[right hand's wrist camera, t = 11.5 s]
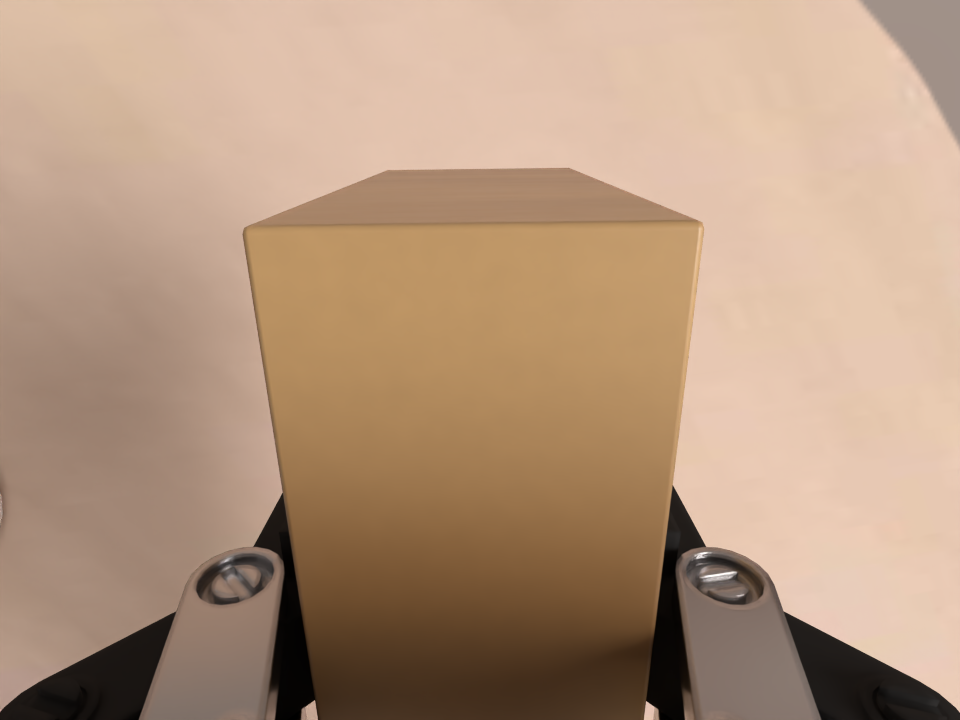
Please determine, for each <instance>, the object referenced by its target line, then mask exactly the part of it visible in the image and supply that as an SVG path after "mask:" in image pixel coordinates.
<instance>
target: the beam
mask: <svg viewBox="0 0 960 720" xmlns="http://www.w3.org/2000/svg"><path fill="white" fill-rule="evenodd" d="M703 234H704V227H703V223H702V222H700V221H698V220H695V219H693V218H690V217H688V216H686V215H683V214H681V213H678V212H676V211H673V210H671V209H668V208H666V207H663V206H661V205H658V204H656V203H654V202H651V201H649V200H646V199H644V198H641V197H639V196H636V195H634V194H631V193H629V192H627V191H624V190H622V189H619V188H617V187H614V186H612V185H609V184H607V183H604V182H602V181H600V180H597V179H595V178H592V177H590V176H587V175H585V174H582V173H580V172H577V171H575V170H572V169H570V168H529V169H449V170H387V171H385V172H382V173H380V174H377V175H375V176H372V177H370V178H367V179H365V180H362V181H360V182H357V183H355V184H352V185H350V186H347V187H345V188H342V189H340V190H337V191H335V192H332V193H330V194H327V195H325V196H322V197H319V198H317V199H314V200H312V201H309V202H307V203H304V204H302V205H299V206H297V207H294V208H292V209H289V210H287V211H284V212H282V213H279V214H277V215H274V216H272V217H269V218H267V219H264V220H262V221H259V222H257V223H254V224H252V225H249V226H247V227H245V228H244V231H243V240H244V246H245V252H246V259H247V265H248V272H249V278H250V285H251V291H252V297H253V304H254V310H255V317H256V323H257V330H258V336H259V342H260V349H261V355H262V362H263V368H264V375H265V381H266V387H267V394H268V400H269V407H270V413H271V420H272V426H273V432H274V439H275V445H276V452H277V458H278V465H279V471H280V477H281V484H282V490H283V497H284V503H285V510H286V516H287V522H288V529H289V535H290V542H291V548H292V555H293V561H294V567H295V574H296V580H297V587H298V593H299V600H300V606H301V612H302V619H303V625H304V632H305V638H306V644H307V651H308V657H309V664H310V670H311V677H312V683H313V689H314V696H315V702H316V709H317V715H318V720H644V713H645V705H646V696H647V688H648V680H649V672H650V664H651V656H652V648H653V640H654V631H655V623H656V615H657V607H658V599H659V591H660V583H661V575H662V567H663V558H664V550H665V542H666V534H667V526H668V518H669V510H670V502H671V494H672V485H673V477H674V469H675V461H676V453H677V445H678V437H679V429H680V421H681V412H682V404H683V396H684V388H685V380H686V372H687V364H688V356H689V348H690V339H691V331H692V323H693V315H694V307H695V299H696V291H697V283H698V275H699V266H700V258H701V250H702V242H703Z"/></svg>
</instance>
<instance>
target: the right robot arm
mask: <svg viewBox="0 0 960 720" xmlns="http://www.w3.org/2000/svg"><path fill="white" fill-rule="evenodd" d="M2 514H3V509H2V497H1V494H0V526H1V520H2ZM314 700H315V696H314V689H313V683H312V677H311V670H310V664H309V657H308V651H307V644H306V638H305V632H304V625H303V619H302V612H301V606H300V600H299V593H298V587H297V580H296V574H295V567H294V561H293V555H292V548H291V542H290V535H289V529H288V522H287V516H286V510H285V503H284V497H283V493H282V495H281V497H280V499H279V501H278V503H277V504H276V506H275V508H274V510H273V512H272V514H271V515H270V517H269V519H268V521H267V523H266V525H265V527H264V528H263V530H262V532H261V534H260V536H259V538H258V539H257V541H256V543H255V545H254V547H245V548H239V549H234V550H230V551H227V552H224V553H222V554H220V555H217V556H215V557H213V558H211V559H210V560H208V561H207V562H205V563H203V564H202V565H201V566H200V567H199V568H198V569H197V570H196V571H195V572H194V573H193V574H192V575H191V577H190V578H189V580H188V582H187V584H186V586H185V589H184V591H183V594H182V597H181V600H180V603H179V606H178V609H177V611H176V612H174V613H172V614H170V615H168V616H166V617H164V618H162V619H160V620H159V621H157V622H155V623H153V624H151V625H149V626H147V627H145V628H143V629H141V630H139V631H137V632H135V633H133V634H131V635H129V636H128V637H126V638H124V639H122V640H120V641H118V642H116V643H114V644H112V645H110V646H108V647H106V648H104V649H102V650H100V651H98V652H96V653H95V654H93V655H91V656H89V657H87V658H85V659H83V660H81V661H79V662H77V663H75V664H73V665H71V666H69V667H67V668H65V669H64V670H62V671H60V672H58V673H56V674H54V675H52V676H50V677H48V678H46V679H44V680H42V681H40V682H39V683H37V684H35V685H34V686H32V687H30V688H29V689H27V690H26V691H24V692H22V693H21V694H20V695H18V696H17V697H16V698H15V699H14V700H13V701H11V702H10V703H9V704H8V705H7V706H5V707H4V708H3V710H2V711H1V712H0V720H306V709H305V707H306V706H307V705H308V704H310V703H311V702H313V701H314ZM646 701H647V702H649V703H650V704H651V705H653V706H654V707H655V709H654V720H960V712H959V711H958V710H957V709H956V708H955V707H954V706H953V705H952V704H951V703H949V702H948V701H947V700H946V699H945V698H944V697H942V696H941V695H940V694H939V693H937V692H936V691H934V690H932V689H931V688H929V687H928V686H926V685H924V684H923V683H921V682H919V681H918V680H916V679H914V678H912V677H910V676H908V675H906V674H904V673H902V672H900V671H898V670H896V669H894V668H892V667H890V666H888V665H886V664H885V663H883V662H881V661H879V660H877V659H875V658H873V657H871V656H869V655H867V654H865V653H863V652H861V651H859V650H857V649H855V648H854V647H852V646H850V645H848V644H846V643H844V642H842V641H840V640H838V639H836V638H834V637H832V636H830V635H828V634H826V633H824V632H822V631H821V630H819V629H817V628H815V627H813V626H811V625H809V624H807V623H805V622H803V621H801V620H799V619H797V618H795V617H793V616H791V615H790V614H788V613H786V612H784V611H783V609H782V606H781V603H780V600H779V597H778V594H777V591H776V589H775V586H774V584H773V582H772V580H771V578H770V577H769V575H768V574H767V573H766V572H765V571H764V570H763V569H762V568H761V567H760V566H759V565H758V564H757V563H755V562H753V561H752V560H750V559H749V558H747V557H745V556H743V555H740V554H738V553H736V552H733V551H730V550H726V549H721V548H715V547H706V546H705V544H704V542H703V540H702V538H701V536H700V535H699V533H698V531H697V529H696V527H695V525H694V523H693V522H692V520H691V518H690V516H689V514H688V512H687V511H686V509H685V507H684V505H683V503H682V501H681V499H680V498H679V496H678V494H677V492H676V490H675V488H674V486H673V485H672V494H671V502H670V510H669V518H668V526H667V534H666V542H665V550H664V558H663V567H662V575H661V583H660V591H659V599H658V607H657V615H656V623H655V631H654V640H653V648H652V656H651V664H650V672H649V680H648V688H647V696H646Z"/></svg>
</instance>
